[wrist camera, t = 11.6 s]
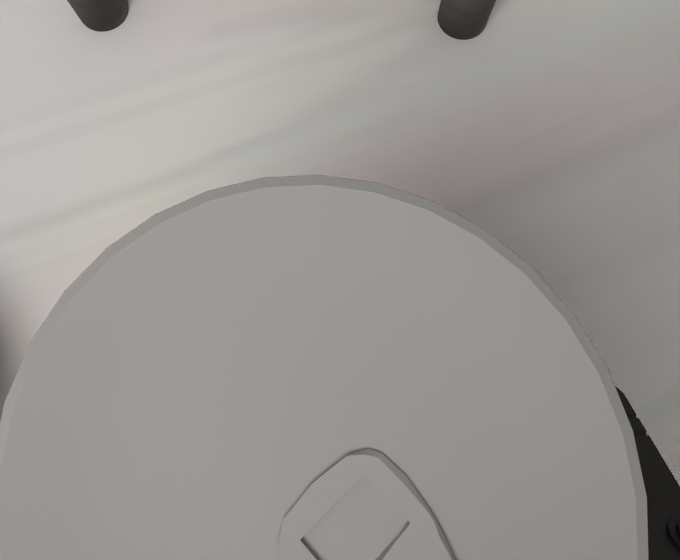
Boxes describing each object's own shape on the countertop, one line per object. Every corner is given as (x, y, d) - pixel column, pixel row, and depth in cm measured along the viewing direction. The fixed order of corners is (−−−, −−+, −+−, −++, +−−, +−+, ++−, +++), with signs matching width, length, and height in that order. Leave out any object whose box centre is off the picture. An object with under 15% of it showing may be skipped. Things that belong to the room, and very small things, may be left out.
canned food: (379, 614, 16) (469, 1085, 5) (156, 469, 17) (-176, 605, 6) (496, 387, 17) (765, 373, 6) (286, 264, 18) (212, 69, 7)
